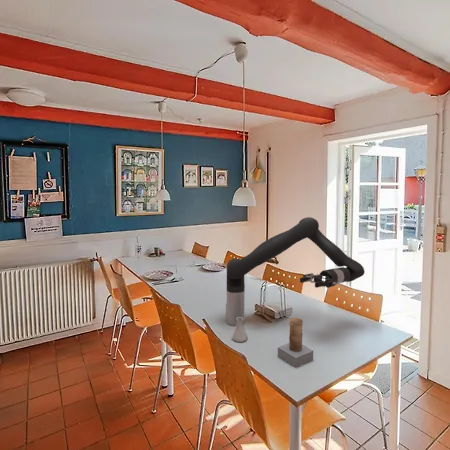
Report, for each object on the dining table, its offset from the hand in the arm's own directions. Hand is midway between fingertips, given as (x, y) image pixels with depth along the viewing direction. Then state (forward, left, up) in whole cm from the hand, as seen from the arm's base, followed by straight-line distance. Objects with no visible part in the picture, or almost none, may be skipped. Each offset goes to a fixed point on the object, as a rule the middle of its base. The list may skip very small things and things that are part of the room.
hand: (307, 282), depth 137 cm
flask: (-20, -22, -28) cm, 41 cm away
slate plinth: (+6, -13, -28) cm, 31 cm away
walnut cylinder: (+6, -13, -24) cm, 28 cm away
